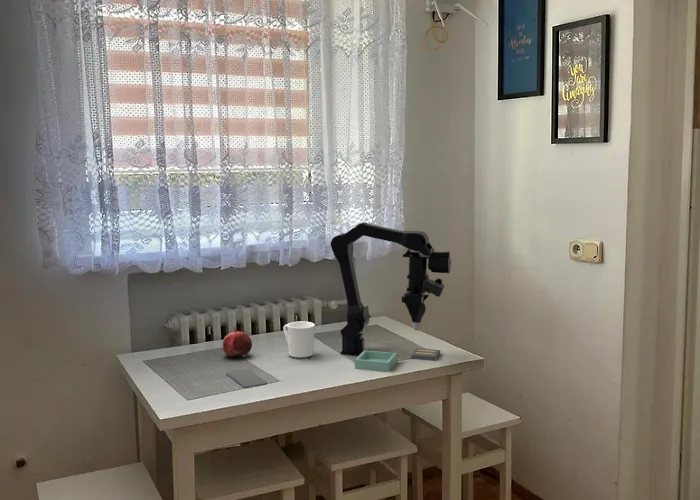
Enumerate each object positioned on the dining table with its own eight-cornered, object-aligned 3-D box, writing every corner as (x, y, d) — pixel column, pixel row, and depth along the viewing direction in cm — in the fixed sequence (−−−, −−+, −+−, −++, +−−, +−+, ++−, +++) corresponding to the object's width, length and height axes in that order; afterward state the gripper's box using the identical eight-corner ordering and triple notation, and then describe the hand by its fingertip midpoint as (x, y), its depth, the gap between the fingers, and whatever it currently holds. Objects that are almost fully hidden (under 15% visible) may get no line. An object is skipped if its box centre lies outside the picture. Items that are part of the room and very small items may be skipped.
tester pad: (411, 358, 236) (411, 354, 236) (416, 351, 244) (416, 347, 243) (435, 360, 234) (435, 356, 234) (440, 353, 241) (440, 349, 241)
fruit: (254, 359, 236) (253, 328, 234) (224, 361, 233) (223, 330, 232) (249, 351, 244) (249, 321, 243) (221, 353, 242) (220, 323, 240)
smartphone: (244, 387, 208) (225, 371, 220) (244, 390, 208) (225, 375, 221) (268, 382, 211) (248, 368, 224) (268, 386, 212) (248, 371, 224)
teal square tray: (354, 368, 226) (354, 359, 225) (364, 358, 236) (364, 350, 235) (388, 371, 223) (388, 362, 222) (396, 361, 233) (396, 353, 232)
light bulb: (424, 332, 232) (425, 301, 231) (406, 331, 233) (407, 300, 232) (425, 328, 238) (426, 298, 236) (408, 327, 239) (409, 297, 237)
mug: (319, 353, 242) (319, 323, 240) (306, 360, 234) (306, 329, 232) (290, 349, 246) (290, 319, 245) (277, 356, 238) (276, 325, 237)
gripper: (438, 278, 222) (436, 328, 224) (447, 268, 239) (445, 314, 242) (401, 276, 225) (400, 325, 227) (413, 266, 242) (412, 312, 245)
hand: (416, 319), depth 235 cm, fingers closed on light bulb, 5 cm apart
